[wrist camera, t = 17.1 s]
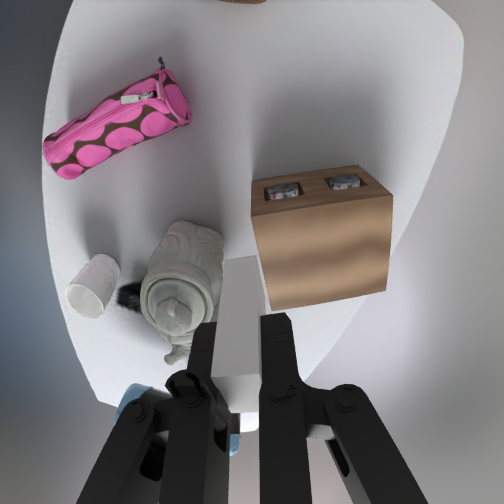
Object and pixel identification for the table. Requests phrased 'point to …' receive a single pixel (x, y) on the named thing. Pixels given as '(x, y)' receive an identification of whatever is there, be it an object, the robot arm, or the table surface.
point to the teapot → (183, 285)
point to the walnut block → (322, 238)
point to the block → (245, 1)
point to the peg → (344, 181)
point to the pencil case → (118, 124)
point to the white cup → (93, 286)
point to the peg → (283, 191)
